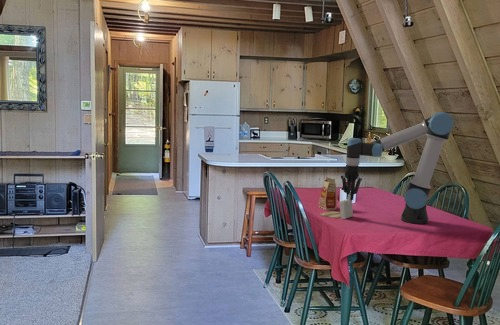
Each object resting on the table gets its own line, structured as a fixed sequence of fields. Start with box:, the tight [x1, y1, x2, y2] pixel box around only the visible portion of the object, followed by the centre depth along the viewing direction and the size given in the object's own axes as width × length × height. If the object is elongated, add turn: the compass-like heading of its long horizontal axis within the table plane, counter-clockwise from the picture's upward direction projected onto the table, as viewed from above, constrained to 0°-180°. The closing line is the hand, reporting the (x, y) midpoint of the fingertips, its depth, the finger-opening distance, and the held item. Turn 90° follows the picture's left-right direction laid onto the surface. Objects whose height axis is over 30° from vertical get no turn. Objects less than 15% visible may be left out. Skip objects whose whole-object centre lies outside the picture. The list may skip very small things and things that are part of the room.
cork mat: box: [318, 210, 341, 220], centre depth 287 cm, size 12×14×1 cm
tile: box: [339, 199, 354, 220], centre depth 281 cm, size 3×10×10 cm, turn 140°
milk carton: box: [318, 176, 338, 211], centre depth 304 cm, size 9×9×20 cm
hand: (349, 205), depth 279 cm, fingers closed
